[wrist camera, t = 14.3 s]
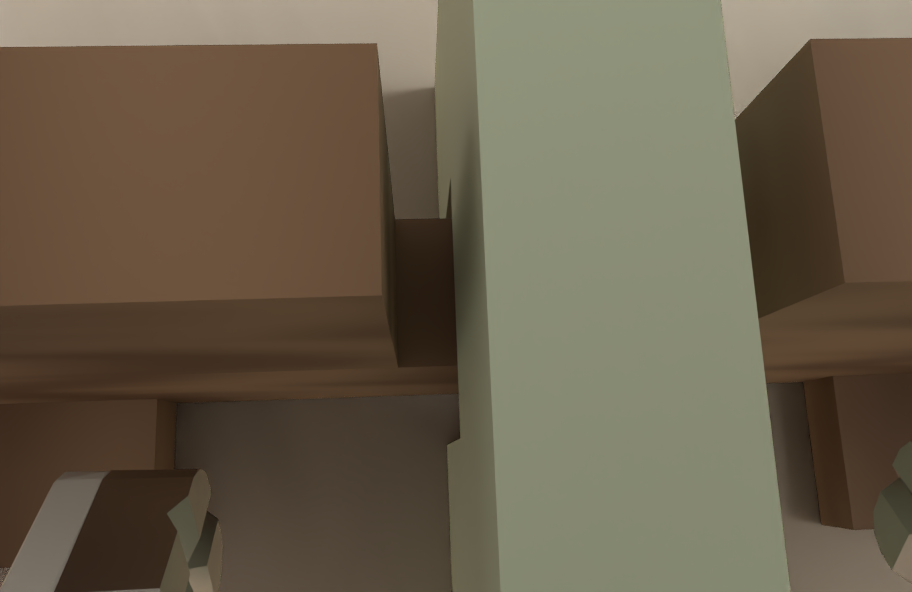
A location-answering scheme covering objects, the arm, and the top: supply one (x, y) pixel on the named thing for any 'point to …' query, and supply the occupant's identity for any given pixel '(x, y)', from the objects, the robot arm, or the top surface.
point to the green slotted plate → (602, 303)
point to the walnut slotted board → (381, 252)
